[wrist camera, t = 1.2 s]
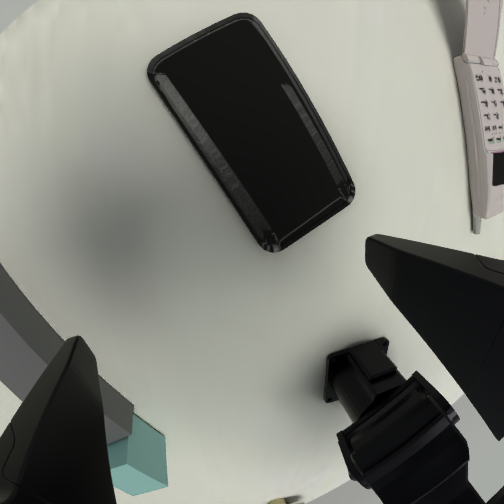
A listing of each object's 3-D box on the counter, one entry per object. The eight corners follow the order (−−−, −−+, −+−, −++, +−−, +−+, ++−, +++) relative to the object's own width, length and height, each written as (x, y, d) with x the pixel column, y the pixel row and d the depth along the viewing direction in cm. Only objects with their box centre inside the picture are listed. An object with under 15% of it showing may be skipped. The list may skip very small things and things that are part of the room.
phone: (269, 259, 21) (139, 66, 15) (264, 253, 22) (142, 69, 16) (361, 196, 21) (252, 6, 15) (353, 193, 22) (248, 12, 16)
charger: (165, 437, 26) (168, 486, 20) (133, 449, 26) (132, 496, 20) (110, 395, 23) (102, 448, 17) (79, 410, 23) (68, 460, 17)
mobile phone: (500, -15, 12) (534, 235, 21) (460, -4, 17) (495, 219, 27) (465, -32, 11) (507, 253, 21) (422, -16, 16) (465, 233, 26)
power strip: (133, 405, 24) (131, 440, 20) (92, 424, 24) (87, 456, 20) (-24, 227, 16) (-54, 245, 12) (-53, 268, 16) (-79, 289, 12)
